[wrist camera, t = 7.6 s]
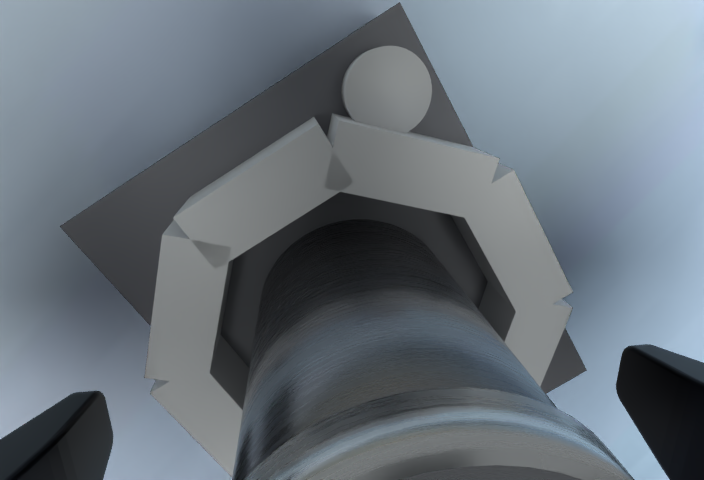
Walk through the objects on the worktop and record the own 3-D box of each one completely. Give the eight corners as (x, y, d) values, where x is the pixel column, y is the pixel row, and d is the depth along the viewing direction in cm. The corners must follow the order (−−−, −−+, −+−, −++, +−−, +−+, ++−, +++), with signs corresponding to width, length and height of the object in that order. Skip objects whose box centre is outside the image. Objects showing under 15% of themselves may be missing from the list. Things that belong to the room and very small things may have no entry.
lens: (460, 207, 11) (881, 531, 3) (451, 388, 12) (715, 910, 4) (243, 218, 10) (87, 636, 2) (261, 405, 12) (197, 1018, 4)
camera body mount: (542, 321, 15) (628, 406, 11) (318, 452, 15) (326, 574, 12) (381, 13, 11) (425, -15, 8) (101, 198, 12) (15, 255, 8)
